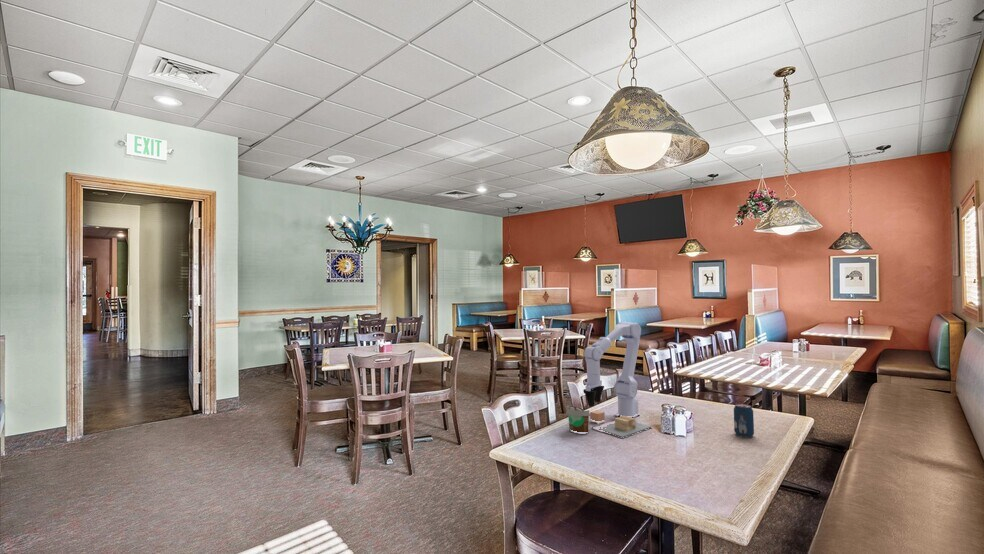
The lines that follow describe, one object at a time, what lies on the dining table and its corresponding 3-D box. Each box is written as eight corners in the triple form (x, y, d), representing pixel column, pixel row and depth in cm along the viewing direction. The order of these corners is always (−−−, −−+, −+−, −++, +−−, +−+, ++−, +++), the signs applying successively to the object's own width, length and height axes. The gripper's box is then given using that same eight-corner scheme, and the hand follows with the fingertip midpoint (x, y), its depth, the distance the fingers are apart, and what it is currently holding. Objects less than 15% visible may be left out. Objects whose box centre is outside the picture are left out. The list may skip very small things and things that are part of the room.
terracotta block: (596, 419, 203) (596, 410, 203) (604, 422, 200) (604, 412, 200) (590, 421, 201) (590, 411, 201) (598, 424, 197) (597, 414, 197)
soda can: (749, 432, 182) (748, 403, 182) (757, 438, 175) (756, 407, 175) (731, 432, 182) (730, 403, 183) (739, 438, 175) (738, 407, 176)
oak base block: (623, 424, 192) (623, 415, 193) (635, 428, 188) (635, 418, 188) (615, 427, 189) (614, 418, 189) (627, 431, 184) (626, 421, 184)
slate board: (620, 419, 202) (620, 418, 202) (651, 428, 189) (651, 426, 189) (591, 429, 190) (591, 427, 190) (622, 438, 177) (622, 436, 177)
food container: (561, 428, 191) (560, 405, 191) (572, 426, 194) (572, 403, 194) (578, 437, 180) (577, 412, 180) (590, 435, 183) (589, 410, 183)
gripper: (591, 370, 207) (592, 399, 206) (578, 375, 195) (579, 406, 194) (605, 371, 203) (606, 401, 202) (593, 377, 191) (594, 408, 190)
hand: (594, 403), depth 198 cm, fingers open, 7 cm apart
